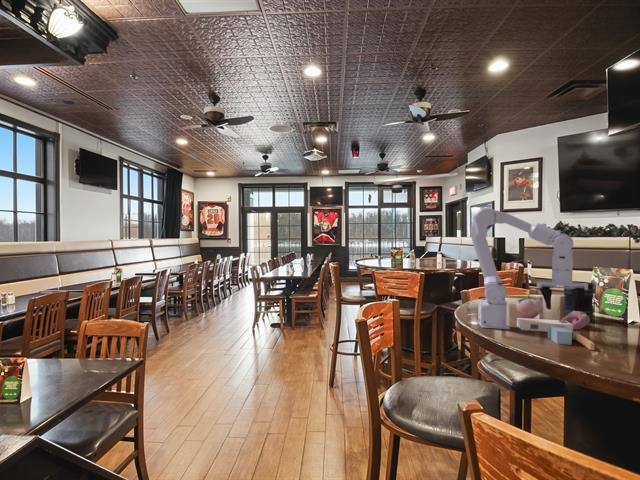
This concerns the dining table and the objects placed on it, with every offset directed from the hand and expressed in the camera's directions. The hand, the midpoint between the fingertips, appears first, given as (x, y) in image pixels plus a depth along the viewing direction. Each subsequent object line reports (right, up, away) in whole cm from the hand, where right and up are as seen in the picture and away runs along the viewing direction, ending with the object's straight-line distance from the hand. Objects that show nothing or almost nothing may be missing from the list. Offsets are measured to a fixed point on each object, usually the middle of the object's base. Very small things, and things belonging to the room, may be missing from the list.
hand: (561, 309), depth 120 cm
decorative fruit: (+2, -9, +23) cm, 24 cm away
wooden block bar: (0, -9, -9) cm, 13 cm away
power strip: (-1, -9, +8) cm, 12 cm away
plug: (-4, -9, -6) cm, 12 cm away
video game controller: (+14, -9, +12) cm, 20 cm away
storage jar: (+23, -9, +24) cm, 34 cm away
